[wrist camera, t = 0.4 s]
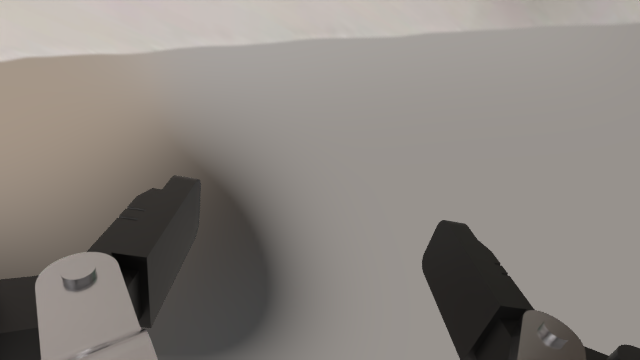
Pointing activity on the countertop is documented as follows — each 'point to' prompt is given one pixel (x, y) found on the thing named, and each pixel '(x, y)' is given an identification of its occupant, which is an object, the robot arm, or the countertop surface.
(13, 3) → the countertop surface
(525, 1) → the countertop surface
